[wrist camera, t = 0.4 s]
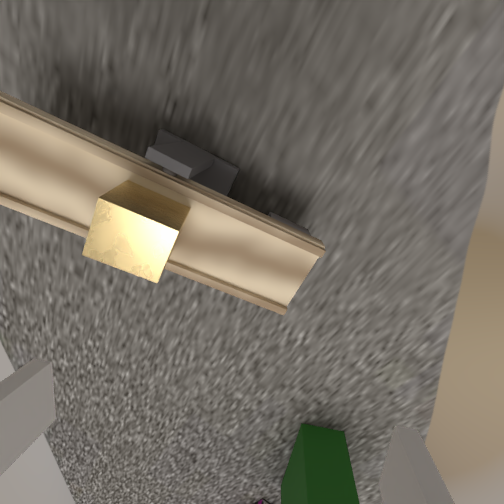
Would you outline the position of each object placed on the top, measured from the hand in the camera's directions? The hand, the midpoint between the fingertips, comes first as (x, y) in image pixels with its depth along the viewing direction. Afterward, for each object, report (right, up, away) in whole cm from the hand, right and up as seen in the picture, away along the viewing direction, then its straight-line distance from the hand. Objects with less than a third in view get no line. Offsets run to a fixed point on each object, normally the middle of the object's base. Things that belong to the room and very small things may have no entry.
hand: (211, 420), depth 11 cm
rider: (-8, +10, +17) cm, 21 cm away
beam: (-8, +12, +22) cm, 26 cm away
